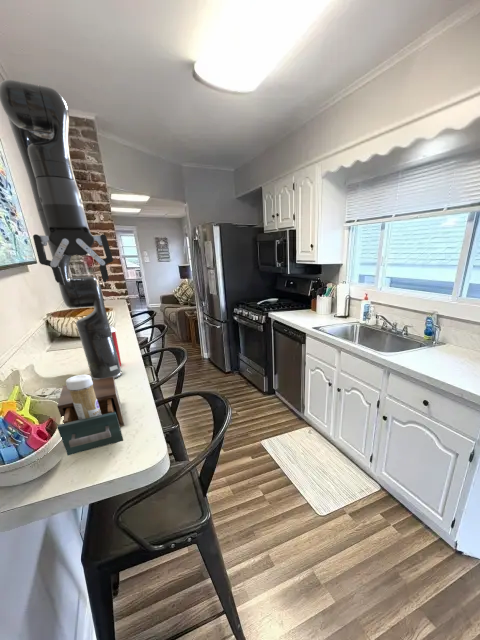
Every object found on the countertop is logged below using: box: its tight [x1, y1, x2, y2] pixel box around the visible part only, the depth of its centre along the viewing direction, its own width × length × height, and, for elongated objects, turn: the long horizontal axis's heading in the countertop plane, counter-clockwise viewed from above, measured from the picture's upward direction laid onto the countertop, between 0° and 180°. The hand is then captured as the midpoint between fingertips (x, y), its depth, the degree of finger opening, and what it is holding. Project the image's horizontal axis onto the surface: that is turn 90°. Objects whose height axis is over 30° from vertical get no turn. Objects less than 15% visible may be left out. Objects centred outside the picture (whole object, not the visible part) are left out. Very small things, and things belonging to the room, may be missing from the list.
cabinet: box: [56, 377, 125, 427], centre depth 78 cm, size 14×12×9 cm
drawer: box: [56, 398, 124, 456], centre depth 68 cm, size 17×10×7 cm, turn 30°
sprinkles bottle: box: [65, 374, 102, 420], centre depth 67 cm, size 5×5×13 cm
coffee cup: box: [110, 325, 122, 367], centre depth 116 cm, size 8×8×15 cm
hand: (84, 283), depth 73 cm, fingers open, 8 cm apart
